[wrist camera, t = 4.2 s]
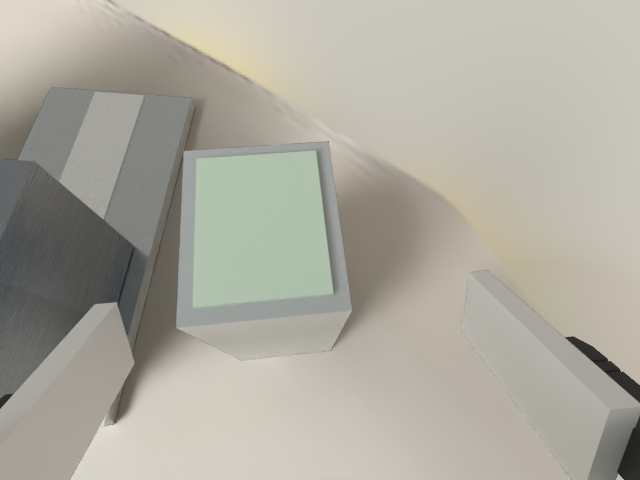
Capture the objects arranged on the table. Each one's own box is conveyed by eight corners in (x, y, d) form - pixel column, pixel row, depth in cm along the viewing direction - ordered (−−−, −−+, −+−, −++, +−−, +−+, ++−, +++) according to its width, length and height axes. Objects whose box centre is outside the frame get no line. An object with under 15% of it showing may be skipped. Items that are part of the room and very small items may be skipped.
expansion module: (241, 360, 20) (173, 326, 10) (239, 259, 23) (181, 147, 12) (330, 350, 21) (353, 308, 10) (319, 252, 23) (328, 137, 13)
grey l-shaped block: (-80, 410, 19) (-433, 425, 10) (59, 97, 27) (-65, -51, 18) (113, 424, 19) (-63, 453, 10) (195, 107, 27) (138, -36, 18)
